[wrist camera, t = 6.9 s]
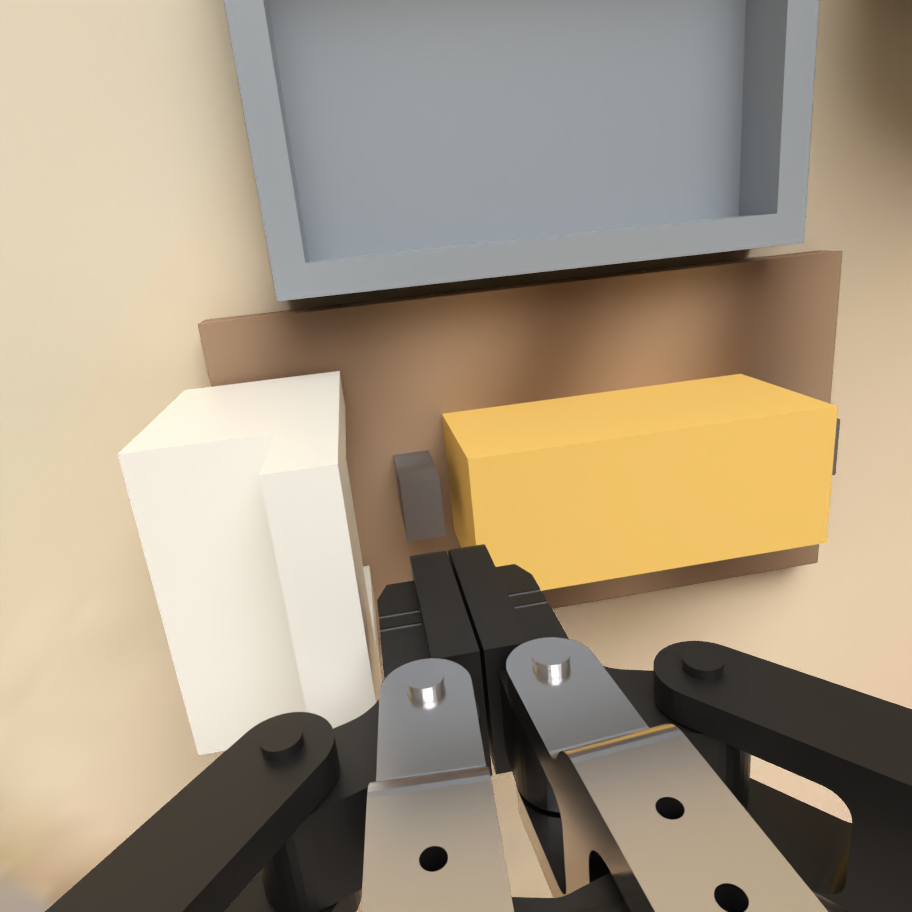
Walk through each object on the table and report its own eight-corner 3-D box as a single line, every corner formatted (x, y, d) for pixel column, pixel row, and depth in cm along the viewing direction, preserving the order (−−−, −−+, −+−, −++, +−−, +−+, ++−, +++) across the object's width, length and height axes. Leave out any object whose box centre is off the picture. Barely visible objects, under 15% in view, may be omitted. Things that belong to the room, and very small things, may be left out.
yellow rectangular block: (740, 373, 20) (837, 406, 16) (736, 486, 21) (826, 542, 17) (441, 413, 19) (468, 459, 15) (454, 530, 20) (481, 600, 16)
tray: (766, -134, 17) (831, -190, 15) (752, 242, 20) (804, 242, 18) (215, -112, 16) (193, -171, 13) (285, 293, 18) (276, 301, 16)
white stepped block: (339, 370, 18) (337, 464, 11) (374, 595, 20) (392, 806, 13) (185, 390, 18) (67, 502, 10) (236, 618, 20) (171, 850, 12)
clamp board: (819, 250, 20) (907, 252, 17) (798, 549, 24) (870, 598, 20) (205, 319, 18) (175, 337, 15) (272, 638, 21) (260, 708, 18)
